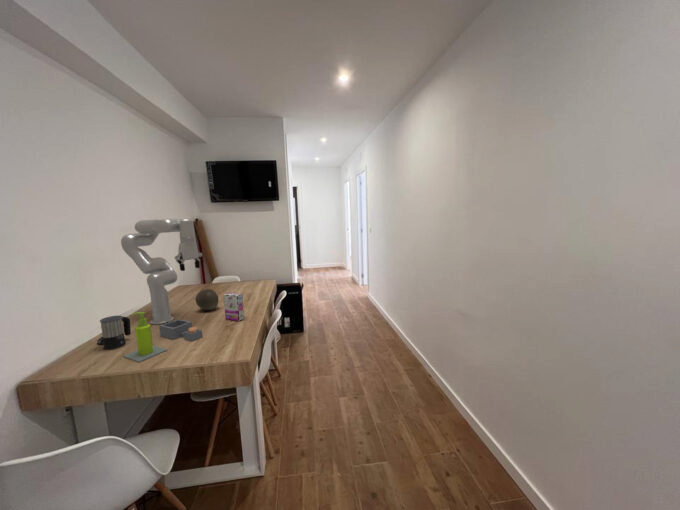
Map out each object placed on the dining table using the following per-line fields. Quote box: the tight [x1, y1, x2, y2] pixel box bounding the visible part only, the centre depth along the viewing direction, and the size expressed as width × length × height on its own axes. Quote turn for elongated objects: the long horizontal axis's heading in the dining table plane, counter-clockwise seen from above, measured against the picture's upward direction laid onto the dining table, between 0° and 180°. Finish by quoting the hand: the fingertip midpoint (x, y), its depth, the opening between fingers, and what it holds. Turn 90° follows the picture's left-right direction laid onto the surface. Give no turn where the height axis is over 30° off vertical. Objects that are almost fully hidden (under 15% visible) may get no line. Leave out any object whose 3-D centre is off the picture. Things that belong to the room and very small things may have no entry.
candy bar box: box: [223, 292, 245, 322], centre depth 186 cm, size 11×5×16 cm, turn 68°
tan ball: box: [188, 326, 198, 333], centre depth 158 cm, size 4×4×3 cm
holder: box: [159, 318, 203, 342], centre depth 162 cm, size 23×11×6 cm, turn 63°
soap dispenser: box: [130, 311, 153, 355], centre depth 140 cm, size 6×7×20 cm
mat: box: [122, 345, 168, 363], centre depth 141 cm, size 13×13×1 cm
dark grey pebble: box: [195, 288, 219, 311], centre depth 206 cm, size 14×14×15 cm
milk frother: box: [96, 314, 132, 351], centre depth 152 cm, size 14×16×15 cm
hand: (190, 269), depth 174 cm, fingers open, 9 cm apart
